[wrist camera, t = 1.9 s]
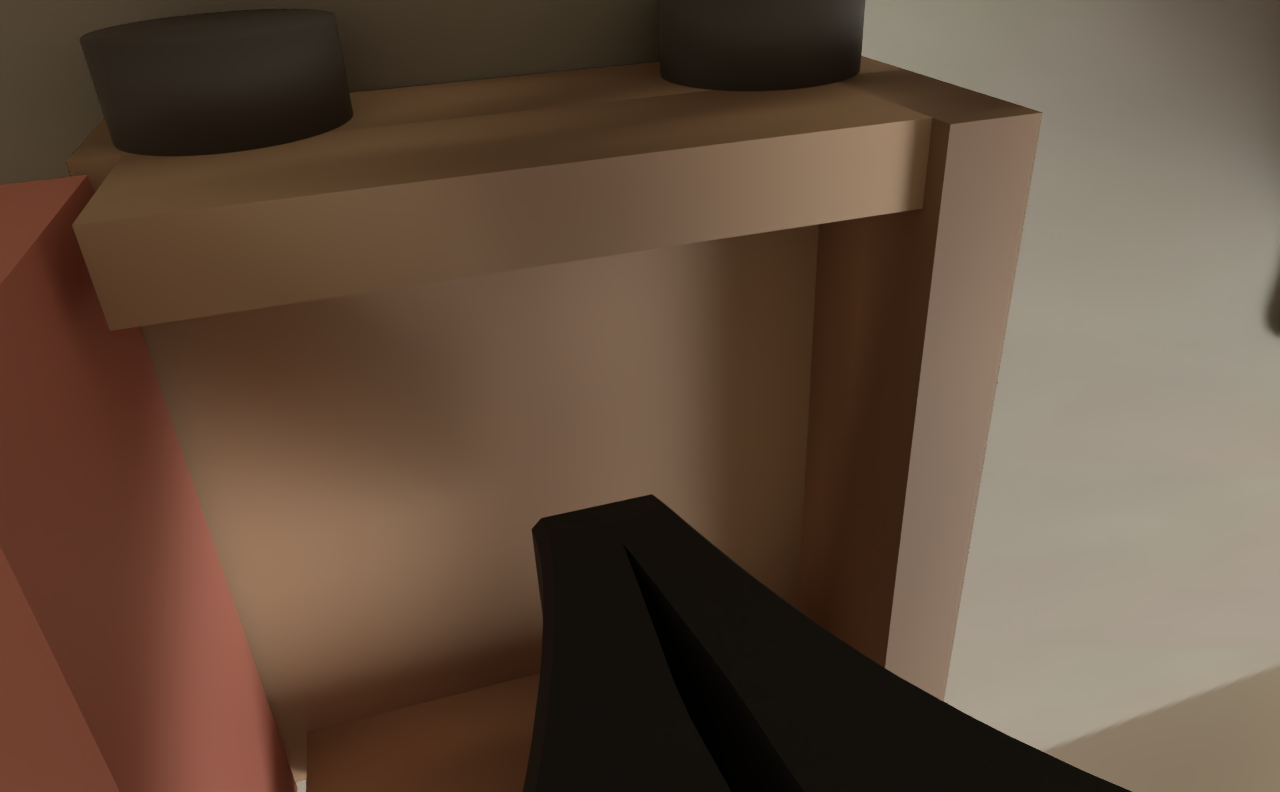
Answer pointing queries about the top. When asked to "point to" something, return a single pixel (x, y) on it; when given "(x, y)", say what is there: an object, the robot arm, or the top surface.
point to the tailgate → (106, 549)
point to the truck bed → (551, 342)
